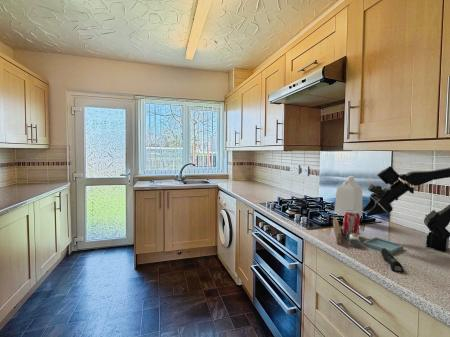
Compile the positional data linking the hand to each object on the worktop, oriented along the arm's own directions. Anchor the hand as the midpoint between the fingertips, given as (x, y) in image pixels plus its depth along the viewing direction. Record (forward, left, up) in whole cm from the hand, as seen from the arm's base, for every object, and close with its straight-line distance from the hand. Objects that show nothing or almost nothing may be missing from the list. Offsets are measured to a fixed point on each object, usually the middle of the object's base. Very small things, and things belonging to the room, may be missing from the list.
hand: (365, 213), depth 117 cm
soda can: (+4, +3, -12) cm, 13 cm away
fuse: (-2, +13, -12) cm, 17 cm away
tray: (-11, +5, -12) cm, 17 cm away
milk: (+21, -23, -12) cm, 34 cm away
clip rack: (+6, +5, -12) cm, 14 cm away
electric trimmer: (-20, +19, -12) cm, 30 cm away
